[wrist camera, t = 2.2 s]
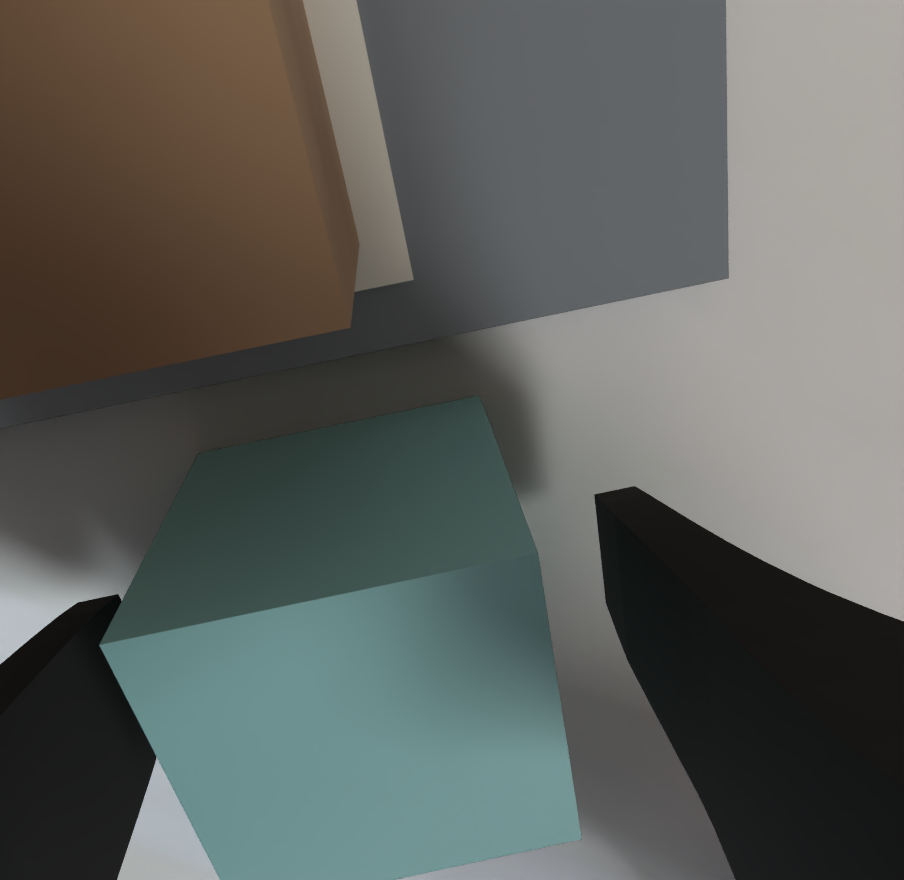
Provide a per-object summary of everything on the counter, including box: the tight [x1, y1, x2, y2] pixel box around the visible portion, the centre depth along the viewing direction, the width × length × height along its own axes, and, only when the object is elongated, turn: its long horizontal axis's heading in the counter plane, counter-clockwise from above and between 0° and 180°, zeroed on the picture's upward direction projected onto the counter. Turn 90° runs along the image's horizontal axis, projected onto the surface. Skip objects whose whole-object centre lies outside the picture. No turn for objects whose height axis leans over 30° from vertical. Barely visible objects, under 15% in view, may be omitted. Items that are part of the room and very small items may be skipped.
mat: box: [0, 0, 729, 429], centre depth 8 cm, size 16×9×1 cm, turn 100°
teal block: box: [99, 396, 582, 880], centre depth 10 cm, size 4×4×4 cm
